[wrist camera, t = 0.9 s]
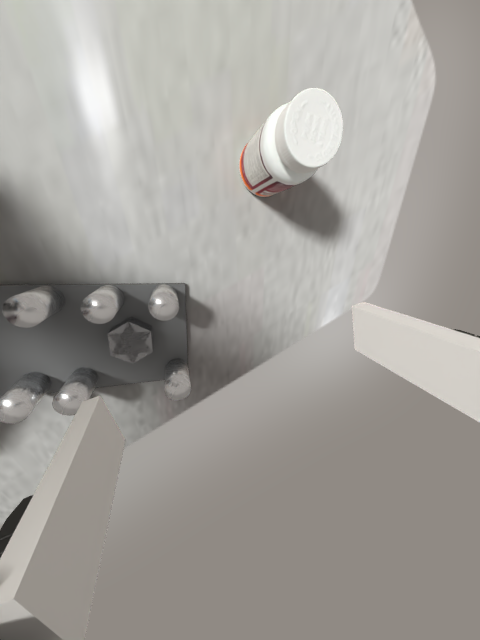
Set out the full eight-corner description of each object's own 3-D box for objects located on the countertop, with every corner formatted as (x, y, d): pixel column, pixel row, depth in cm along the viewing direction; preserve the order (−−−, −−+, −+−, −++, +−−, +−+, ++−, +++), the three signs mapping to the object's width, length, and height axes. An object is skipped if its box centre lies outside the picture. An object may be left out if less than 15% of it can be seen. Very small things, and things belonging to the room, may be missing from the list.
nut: (115, 358, 30) (111, 365, 28) (109, 317, 28) (105, 322, 27) (154, 354, 31) (153, 361, 29) (151, 315, 30) (150, 320, 28)
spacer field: (23, 396, 28) (-4, 425, 24) (-7, 286, 24) (-47, 296, 20) (188, 377, 34) (191, 398, 29) (184, 284, 30) (188, 292, 25)
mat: (-16, 397, 28) (-19, 400, 27) (-54, 285, 24) (-59, 286, 23) (187, 374, 34) (188, 377, 34) (184, 283, 30) (184, 284, 30)
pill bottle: (295, 163, 29) (364, 121, 19) (268, 208, 30) (320, 192, 20) (255, 125, 27) (310, 53, 17) (227, 175, 28) (263, 136, 17)
